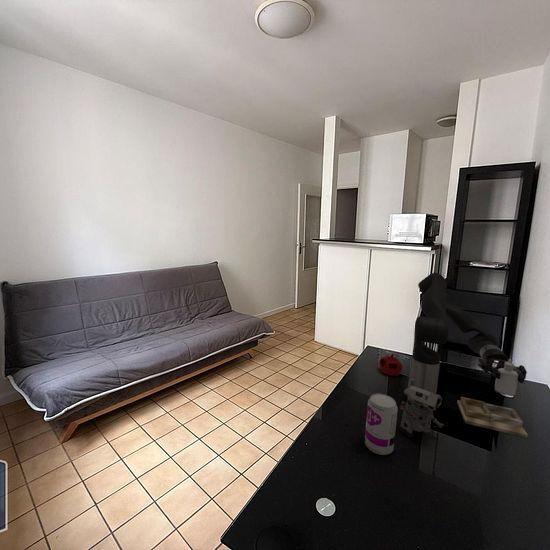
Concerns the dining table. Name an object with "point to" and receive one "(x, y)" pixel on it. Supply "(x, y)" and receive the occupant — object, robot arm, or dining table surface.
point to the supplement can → (381, 424)
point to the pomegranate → (390, 365)
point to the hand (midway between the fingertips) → (510, 378)
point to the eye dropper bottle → (507, 380)
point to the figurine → (419, 410)
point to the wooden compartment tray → (491, 416)
